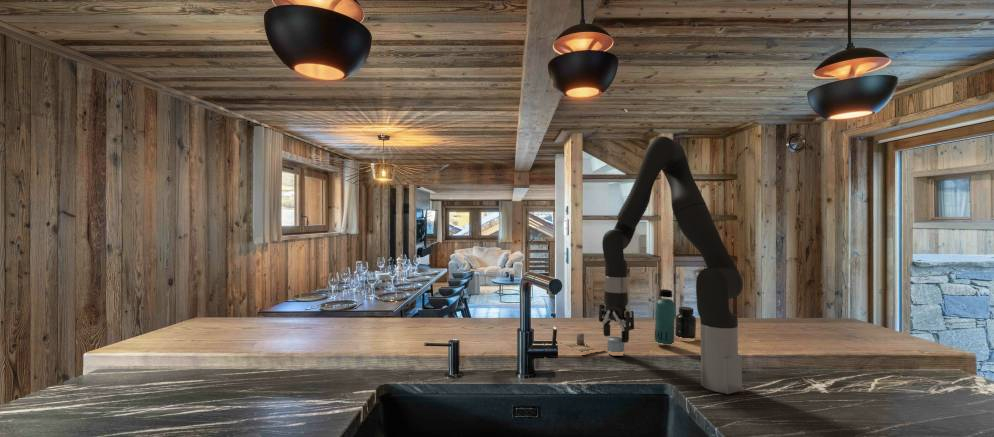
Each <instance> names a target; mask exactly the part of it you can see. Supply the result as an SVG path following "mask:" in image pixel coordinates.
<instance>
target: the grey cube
mask: <svg viewBox="0 0 994 437" xmlns="http://www.w3.org/2000/svg"><path fill="white" fill-rule="evenodd" d="M608 351H611V352H623V351H624V352H625V343H623V342H622V336H621V337H620V336H608V337H607V352H608Z"/></svg>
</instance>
